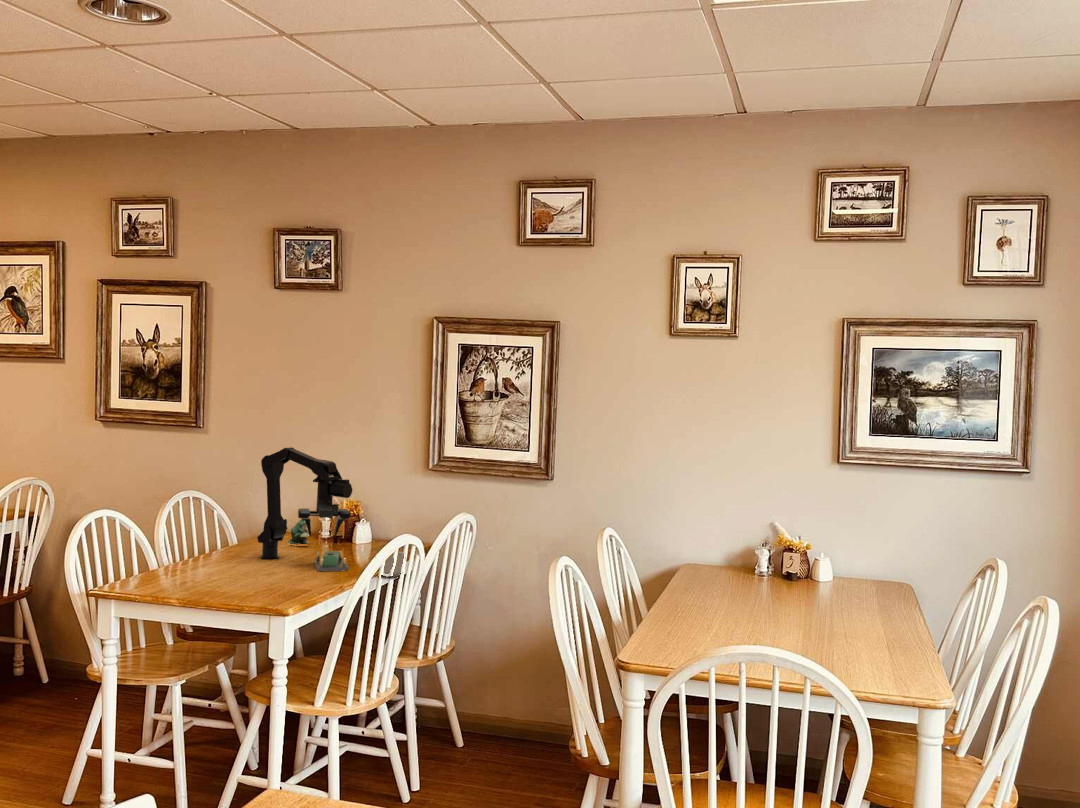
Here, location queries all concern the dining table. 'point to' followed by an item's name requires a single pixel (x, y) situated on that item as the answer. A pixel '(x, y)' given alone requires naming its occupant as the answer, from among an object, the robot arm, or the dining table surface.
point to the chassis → (339, 567)
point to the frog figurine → (299, 533)
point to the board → (330, 558)
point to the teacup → (390, 562)
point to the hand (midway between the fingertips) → (322, 536)
